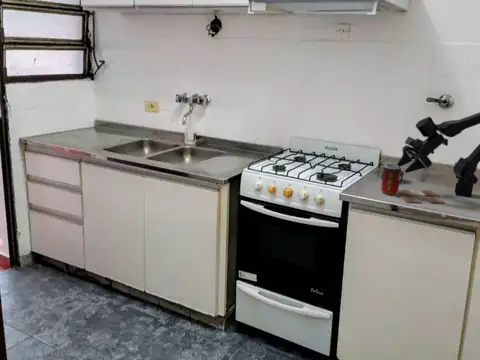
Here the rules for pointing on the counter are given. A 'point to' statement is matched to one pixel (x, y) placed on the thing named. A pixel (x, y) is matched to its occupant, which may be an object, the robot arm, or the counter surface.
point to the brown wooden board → (417, 193)
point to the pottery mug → (400, 176)
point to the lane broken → (414, 200)
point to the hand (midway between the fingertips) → (401, 169)
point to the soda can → (390, 179)
